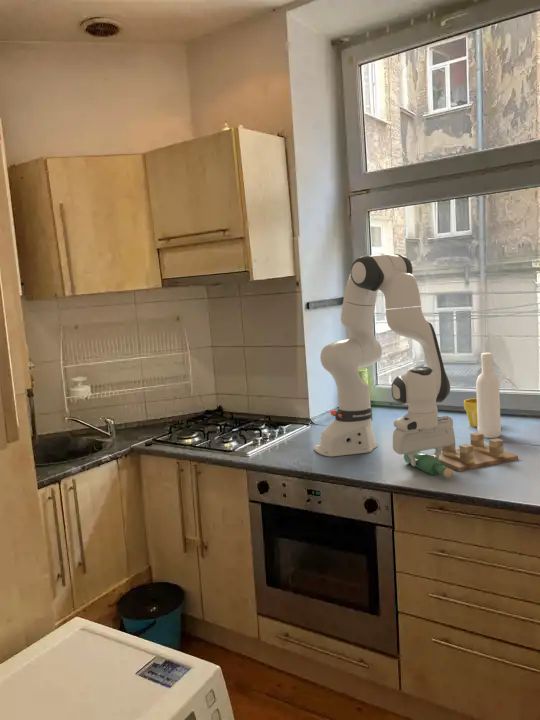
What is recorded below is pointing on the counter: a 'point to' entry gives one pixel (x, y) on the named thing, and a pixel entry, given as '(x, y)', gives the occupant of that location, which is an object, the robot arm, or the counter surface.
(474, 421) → the plant pot
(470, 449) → the bottle rest
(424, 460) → the bottle
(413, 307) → the robot arm
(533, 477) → the counter surface
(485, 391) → the bottle
